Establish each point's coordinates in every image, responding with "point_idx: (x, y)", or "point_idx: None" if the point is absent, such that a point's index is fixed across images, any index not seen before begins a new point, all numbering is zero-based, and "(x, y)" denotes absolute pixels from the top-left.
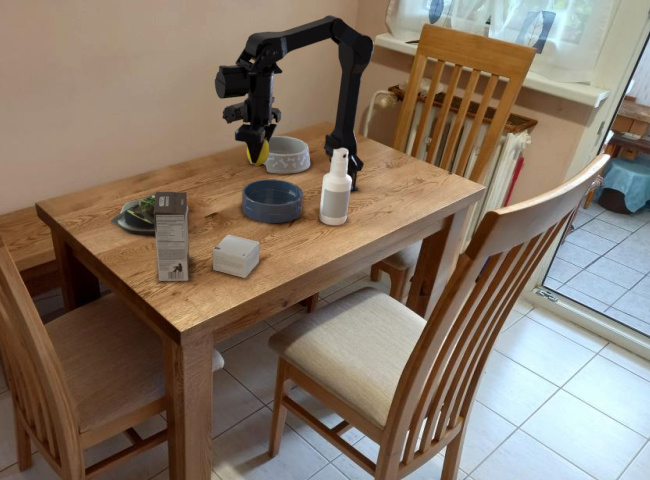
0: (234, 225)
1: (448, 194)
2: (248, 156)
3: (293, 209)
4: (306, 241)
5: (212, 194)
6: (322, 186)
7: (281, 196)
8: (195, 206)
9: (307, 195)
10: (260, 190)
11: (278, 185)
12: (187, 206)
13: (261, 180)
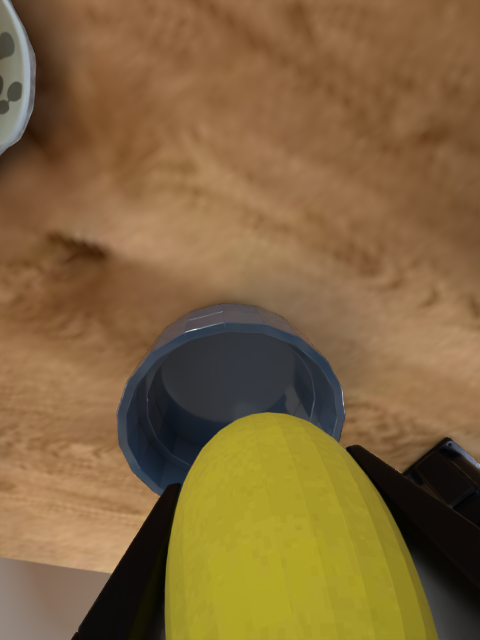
0: (75, 347)
1: None
2: (190, 473)
3: None
4: (129, 515)
5: (229, 155)
6: None
7: (306, 389)
8: (97, 148)
9: (362, 423)
10: (284, 343)
11: (327, 394)
12: (7, 138)
13: (309, 353)
